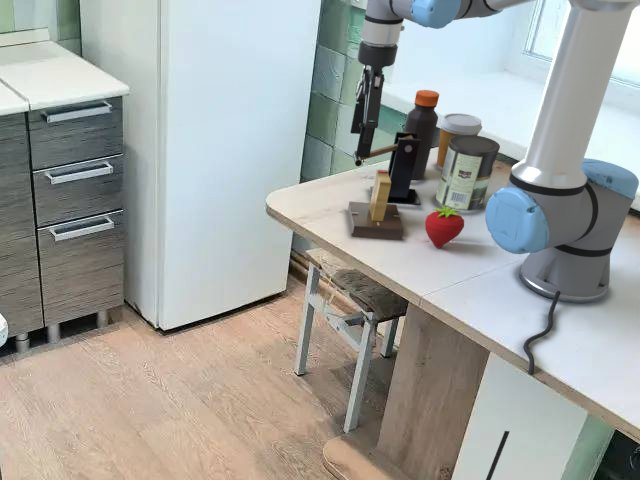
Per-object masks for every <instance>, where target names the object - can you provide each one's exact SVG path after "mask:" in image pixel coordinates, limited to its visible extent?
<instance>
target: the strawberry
mask: <svg viewBox="0 0 640 480" xmlns="http://www.w3.org/2000/svg"><path fill="white" fill-rule="evenodd" d="M448 205H449V204H448ZM448 205H447V206H448ZM460 212H461V210H457V209H453V208H449V207H446V206H444V205H442V208H438V207H437V208H433V209H432V212H431V213H430V214H429V215H427V216H426V219H425V221H424V227H425V233H426V234H427V236H428V238H429V240H430V241H431V242H432V244H433V246H434V247H435V248H437V249H438V248H442V247H444V245H446V244H448V243H450V242H451V241H453V240H454V239H455V238H456V237H458V236H459V235H460V234H461V233H462V231H463V230H464V228H465V219H464V218H463V217H462V216H461V215H460V214H459V213H460Z"/></svg>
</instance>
